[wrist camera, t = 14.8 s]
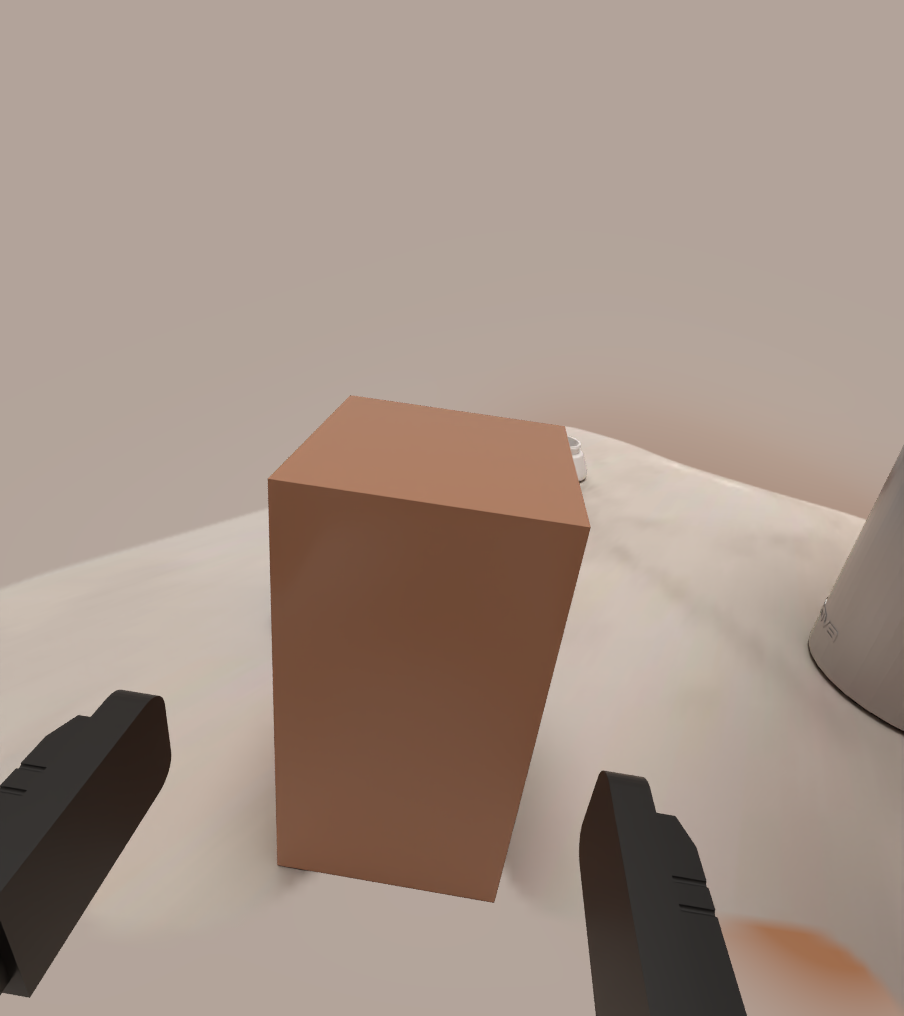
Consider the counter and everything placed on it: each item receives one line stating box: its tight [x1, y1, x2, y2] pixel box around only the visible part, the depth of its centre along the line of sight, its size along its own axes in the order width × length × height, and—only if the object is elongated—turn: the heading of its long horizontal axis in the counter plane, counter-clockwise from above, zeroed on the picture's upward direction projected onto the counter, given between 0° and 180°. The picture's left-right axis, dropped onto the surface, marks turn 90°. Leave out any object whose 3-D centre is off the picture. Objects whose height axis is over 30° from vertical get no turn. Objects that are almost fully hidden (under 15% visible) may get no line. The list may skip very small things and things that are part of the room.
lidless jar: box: [567, 436, 587, 481], centre depth 47 cm, size 5×3×5 cm
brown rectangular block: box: [268, 395, 591, 903], centre depth 17 cm, size 6×6×12 cm
